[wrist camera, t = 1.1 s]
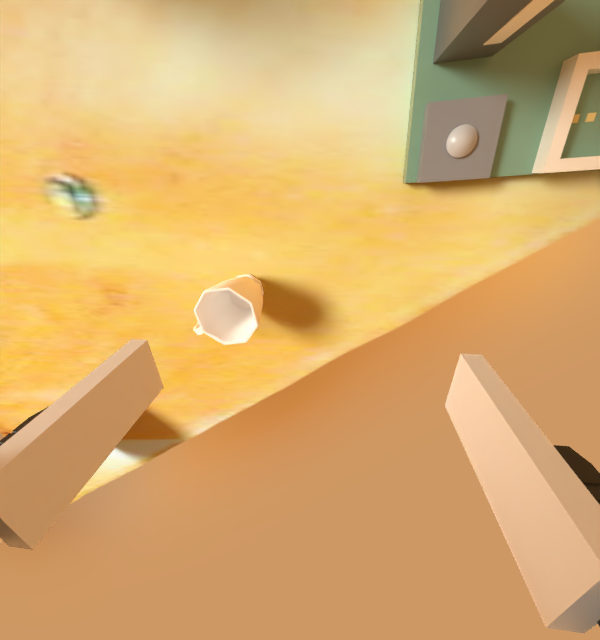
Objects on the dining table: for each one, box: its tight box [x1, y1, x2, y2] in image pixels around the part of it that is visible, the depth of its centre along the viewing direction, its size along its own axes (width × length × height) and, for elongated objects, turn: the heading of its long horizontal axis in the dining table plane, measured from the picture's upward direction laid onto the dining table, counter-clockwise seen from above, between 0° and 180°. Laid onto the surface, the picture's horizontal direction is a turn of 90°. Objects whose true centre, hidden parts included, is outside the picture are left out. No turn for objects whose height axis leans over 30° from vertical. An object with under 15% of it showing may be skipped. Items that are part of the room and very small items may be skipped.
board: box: [403, 0, 600, 183], centre depth 21 cm, size 17×19×3 cm
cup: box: [193, 274, 264, 345], centre depth 33 cm, size 7×10×8 cm
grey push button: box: [416, 94, 508, 183], centre depth 24 cm, size 6×10×3 cm, turn 94°
